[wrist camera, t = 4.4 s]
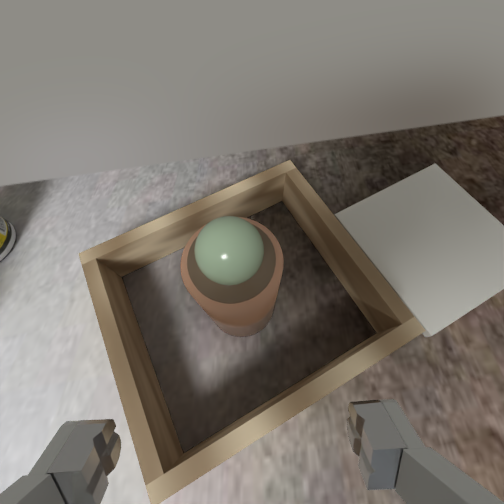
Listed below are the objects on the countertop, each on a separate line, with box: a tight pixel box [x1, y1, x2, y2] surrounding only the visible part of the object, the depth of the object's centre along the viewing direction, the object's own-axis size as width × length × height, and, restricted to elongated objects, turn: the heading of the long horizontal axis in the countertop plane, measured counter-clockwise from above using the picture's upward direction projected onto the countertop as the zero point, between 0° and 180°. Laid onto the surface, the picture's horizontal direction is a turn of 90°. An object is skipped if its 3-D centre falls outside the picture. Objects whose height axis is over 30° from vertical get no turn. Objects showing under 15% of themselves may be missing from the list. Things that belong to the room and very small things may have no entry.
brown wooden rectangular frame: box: [79, 160, 426, 504], centre depth 20 cm, size 18×16×4 cm
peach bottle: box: [181, 216, 284, 337], centre depth 16 cm, size 5×5×12 cm
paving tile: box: [334, 163, 504, 337], centre depth 23 cm, size 12×12×1 cm
